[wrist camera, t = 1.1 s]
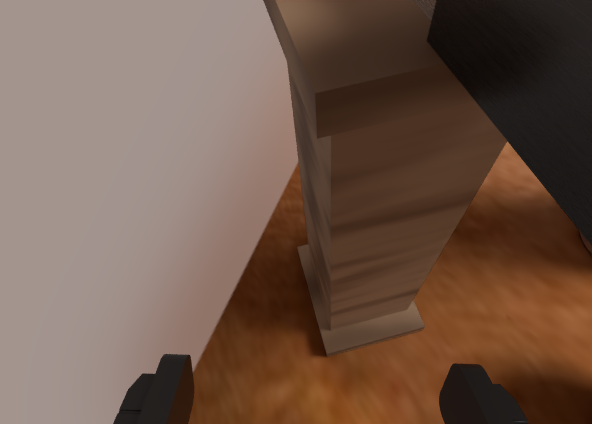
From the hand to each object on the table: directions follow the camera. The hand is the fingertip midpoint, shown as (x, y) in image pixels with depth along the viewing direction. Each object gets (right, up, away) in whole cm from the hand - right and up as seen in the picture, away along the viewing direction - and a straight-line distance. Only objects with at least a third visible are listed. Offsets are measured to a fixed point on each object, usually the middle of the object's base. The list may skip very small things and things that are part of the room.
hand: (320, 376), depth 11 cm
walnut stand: (+6, -3, +28) cm, 29 cm away
